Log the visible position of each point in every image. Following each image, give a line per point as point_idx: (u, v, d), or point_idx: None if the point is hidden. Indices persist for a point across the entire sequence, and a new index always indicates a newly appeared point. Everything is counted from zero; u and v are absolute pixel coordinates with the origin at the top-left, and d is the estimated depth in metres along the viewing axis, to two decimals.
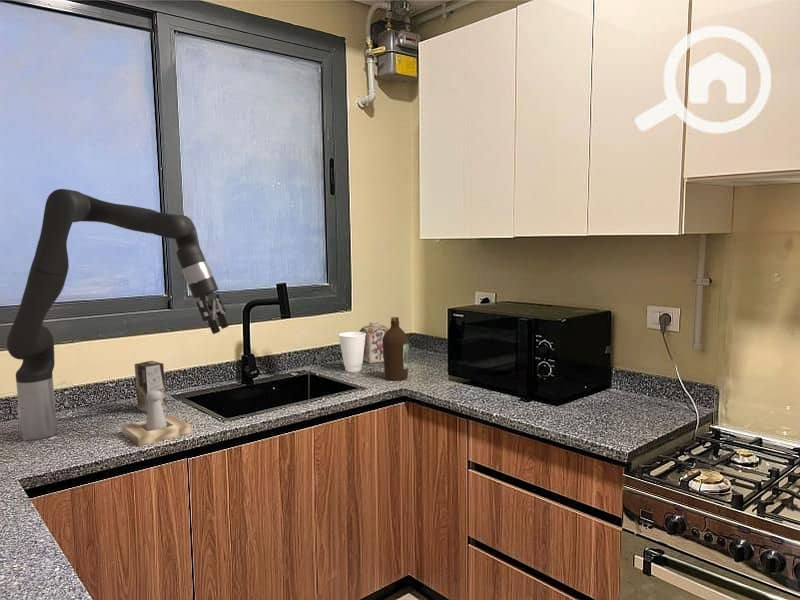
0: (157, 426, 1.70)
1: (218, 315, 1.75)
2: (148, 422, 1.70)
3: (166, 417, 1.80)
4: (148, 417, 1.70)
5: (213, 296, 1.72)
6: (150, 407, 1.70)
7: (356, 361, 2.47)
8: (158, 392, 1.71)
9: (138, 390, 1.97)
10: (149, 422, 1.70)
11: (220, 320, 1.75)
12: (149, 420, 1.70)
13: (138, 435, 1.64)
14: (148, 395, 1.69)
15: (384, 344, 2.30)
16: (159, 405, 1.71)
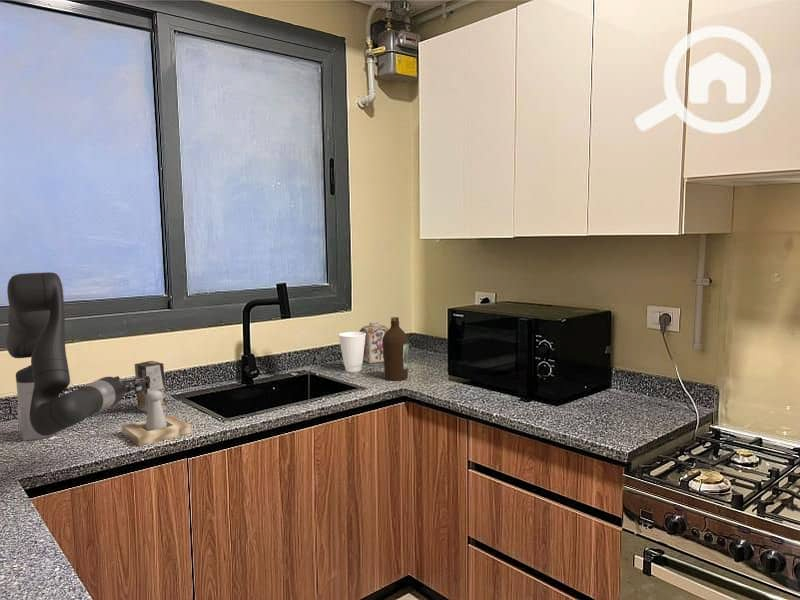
0: (157, 426, 1.70)
1: None
2: (148, 422, 1.70)
3: (166, 417, 1.80)
4: (148, 417, 1.70)
5: None
6: (150, 407, 1.70)
7: (356, 361, 2.47)
8: (158, 392, 1.71)
9: None
10: (149, 422, 1.70)
11: None
12: (149, 420, 1.70)
13: (138, 435, 1.64)
14: (148, 395, 1.69)
15: (384, 344, 2.30)
16: (159, 405, 1.71)
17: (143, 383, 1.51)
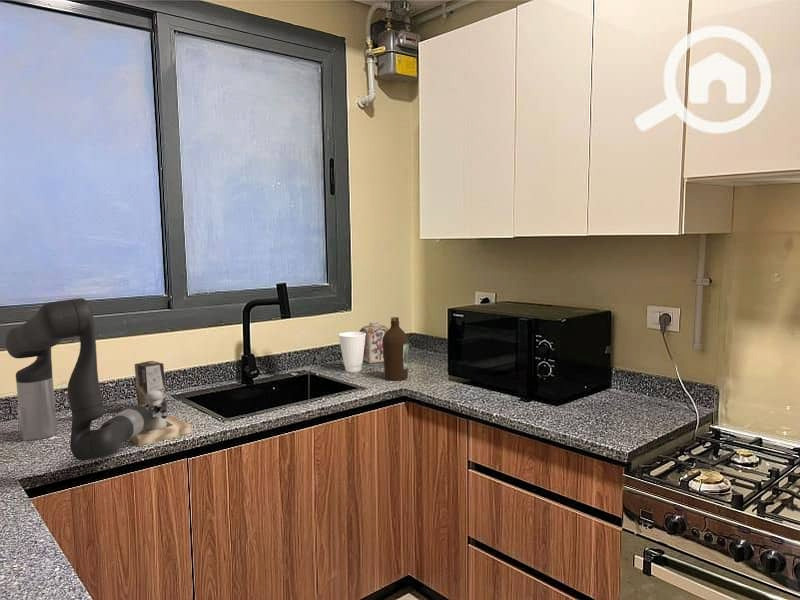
0: (157, 426, 1.70)
1: None
2: None
3: None
4: None
5: None
6: None
7: (356, 361, 2.47)
8: (158, 392, 1.71)
9: (138, 390, 1.97)
10: None
11: None
12: None
13: (138, 435, 1.64)
14: (148, 395, 1.69)
15: (384, 344, 2.30)
16: None
17: (166, 409, 1.67)
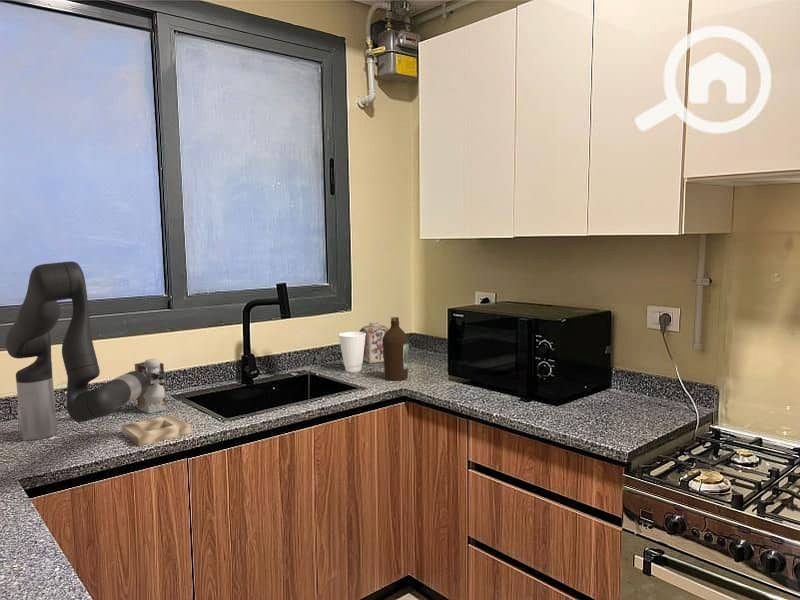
0: (155, 394, 1.69)
1: None
2: None
3: (166, 417, 1.80)
4: None
5: None
6: None
7: (356, 361, 2.47)
8: (156, 360, 1.70)
9: None
10: (147, 390, 1.69)
11: None
12: None
13: (138, 435, 1.64)
14: (146, 363, 1.69)
15: (384, 344, 2.30)
16: None
17: (164, 376, 1.66)
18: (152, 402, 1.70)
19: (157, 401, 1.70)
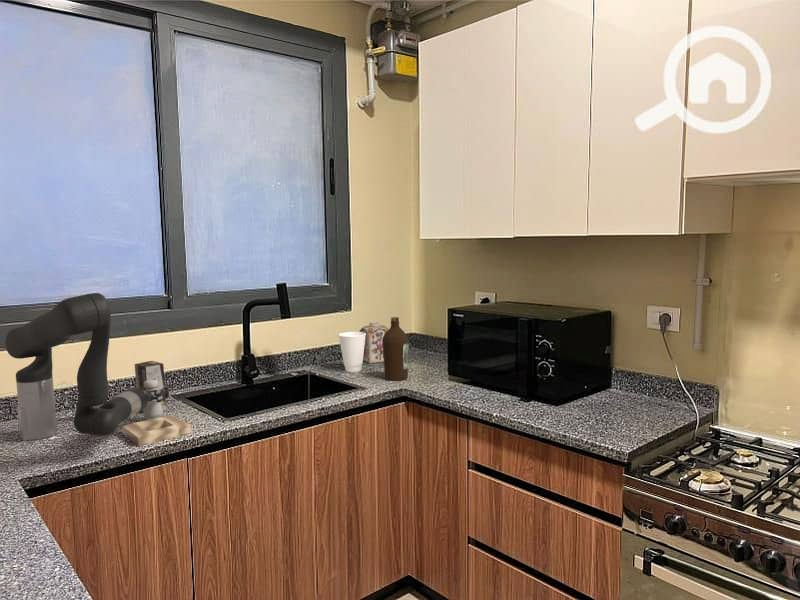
0: (154, 412, 1.83)
1: None
2: (145, 409, 1.83)
3: (166, 417, 1.80)
4: None
5: None
6: None
7: (356, 361, 2.47)
8: (155, 381, 1.85)
9: None
10: (146, 408, 1.83)
11: None
12: (146, 407, 1.83)
13: (138, 435, 1.64)
14: (145, 383, 1.83)
15: (384, 344, 2.30)
16: None
17: (163, 393, 1.79)
18: None
19: None
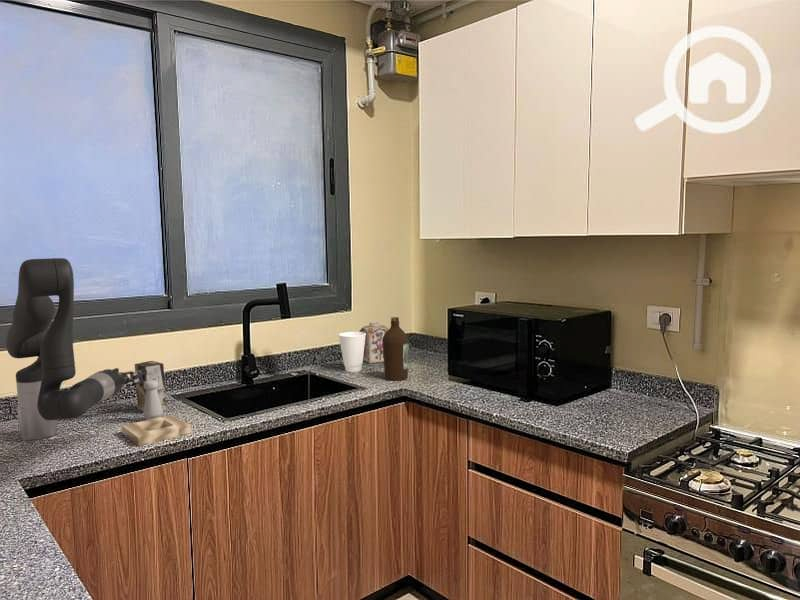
0: (154, 413, 1.83)
1: None
2: (145, 409, 1.83)
3: (166, 417, 1.80)
4: (145, 405, 1.83)
5: None
6: (147, 395, 1.83)
7: (356, 361, 2.47)
8: (155, 382, 1.84)
9: (138, 390, 1.97)
10: (146, 409, 1.83)
11: None
12: (146, 408, 1.83)
13: (138, 435, 1.64)
14: (145, 384, 1.83)
15: (384, 344, 2.30)
16: (156, 394, 1.84)
17: (140, 375, 1.65)
18: None
19: None
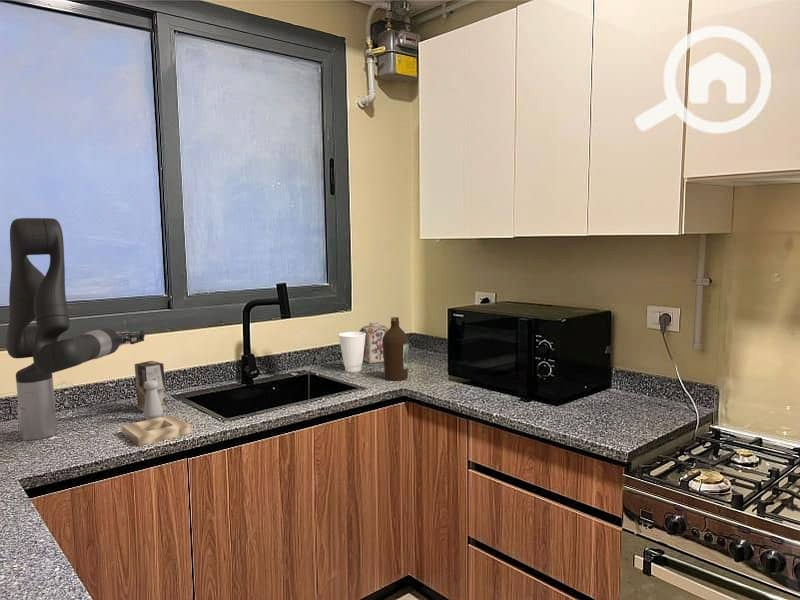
0: (154, 413, 1.83)
1: None
2: (145, 409, 1.83)
3: (166, 417, 1.80)
4: (145, 405, 1.83)
5: None
6: (147, 395, 1.83)
7: (356, 361, 2.47)
8: (155, 382, 1.84)
9: (138, 390, 1.97)
10: (146, 409, 1.83)
11: None
12: (146, 408, 1.83)
13: (138, 435, 1.64)
14: (145, 384, 1.83)
15: (384, 344, 2.30)
16: (156, 394, 1.84)
17: (138, 335, 1.64)
18: None
19: None
